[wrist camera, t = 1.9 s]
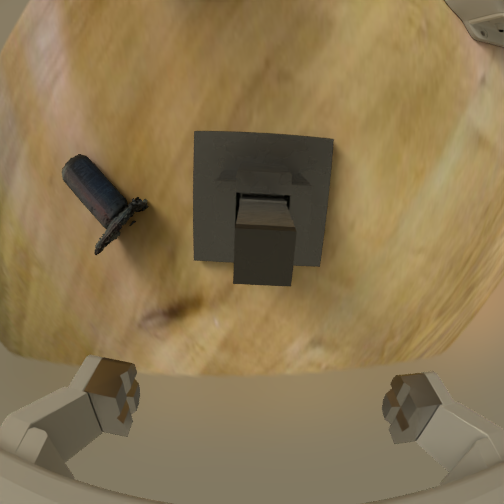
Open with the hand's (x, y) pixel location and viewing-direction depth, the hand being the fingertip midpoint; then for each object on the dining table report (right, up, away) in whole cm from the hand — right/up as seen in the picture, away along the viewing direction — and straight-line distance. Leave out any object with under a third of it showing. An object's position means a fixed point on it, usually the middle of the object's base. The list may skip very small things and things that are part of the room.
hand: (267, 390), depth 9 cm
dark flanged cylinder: (-20, +12, +31) cm, 39 cm away
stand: (+1, +11, +30) cm, 32 cm away
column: (+1, +10, +28) cm, 30 cm away
